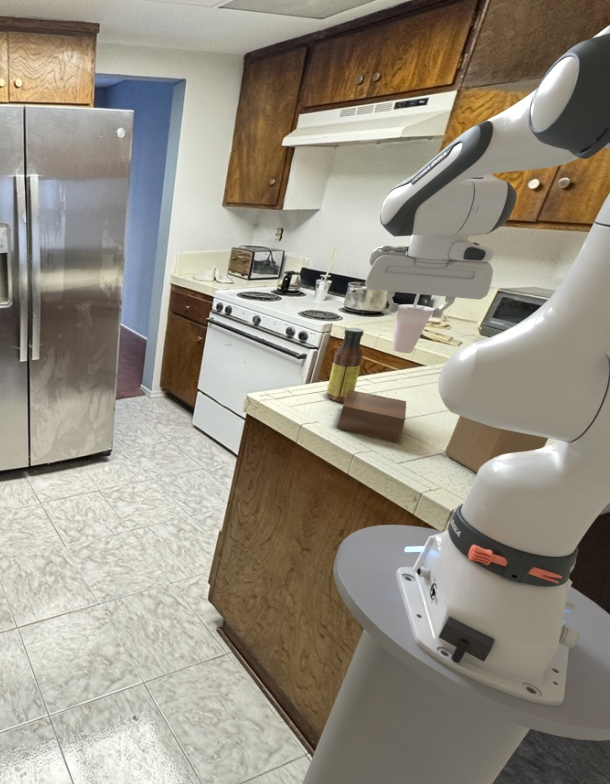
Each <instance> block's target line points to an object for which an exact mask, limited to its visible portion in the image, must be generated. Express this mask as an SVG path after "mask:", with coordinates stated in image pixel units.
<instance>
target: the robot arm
mask: <svg viewBox="0 0 610 784" xmlns="http://www.w3.org/2000/svg"><path fill="white" fill-rule="evenodd" d="M604 148H605V149H608V150H610V24H609V25H607V26H606V27H605V28H603V29H602V30H601V31H599V32H598V33H597V34H596V35H594V36H593V37H591V38H589V39H586V40H583V41H581V42H579V43H577V44H575V45H573V46H571V48H569V49H568V50H567V51H566V52H565V53H563V55H561V56H560V57H559V58H558V59H557V60H555V62H554V63H553V64H552V65H551V66H550V67H549V68H548V70H547V72H546V73H545V75H544V76H543V78H542V80H540V83H539V85H538V86H537V88H536V89H534V90H533V91H532V92H530V93H529V94H528V95H527V96H525V97H524V98H522V99H521V100H519V101H517V102H516V103H515V104H513V105H512V106H510V107H508V108H506V109H505V110H503V111H502V112H500V113H498V114H496V115H494V116H493V117H490V118H489V119H487V120H483V121H481V122H480V123H478V124H476V125H474V126H472V127H469V129H467V130H465V131H463V133H461V134H460V135H459V136H457V137H456V138H455V139H454V140H453V141H451V142H450V143H449V144H448V145H447V146H445V148H443V149H442V150H441V151H440V152H439V153H437V154H436V155H435V156H434V157H433V158H432V159H430V161H428V162H427V163H426V164H425V165H424V166H423V167H421V169H419V170H418V171H416V172H415V173H414V174H413V175H411V176H410V177H408V178H406V179H404V180H403V181H401V182H400V183H398V184H397V185H396V186H394V187H393V188H392V189H391V190H390V192H389V193H388V194H387V196H386V197H385V199H384V202H383V204H382V207H381V211H380V216H379V219H380V220H379V221H380V224H381V225H382V227H383V228H384V229H385V230H386V232H388V233H389V234H390V235H391V236H393V237H411V238H410V241H409V245H408V246H400V245H397V246H391V245H382V246H381V247H377V248H375V249H374V250H373V251H372V252H371V255H370V258H369V265H370V266H371V267H370V269H369V272H368V275H367V277H366V279H365V283H364V286H365V288H366V289H367V290H371V291H372V290H373V291H384V292H386V295H385V297H386V300H387V302H388V304H389V305H388V309H387V313H395V314H397V311H396V310H397V307H398V305H399V303H396V302H394V300H393V299H394V297H395V294H396V293H404V294H415V295H417V294H420V295H425V296H437V297H444V302H445V303H443V304H442V305H440V307H434V308H433V309H434V312H433V315H431V318H438V319H441V318H442V316H443V314H444V311H446V310H447V309H448V308H449V307H450V306H452V305H453V304H454V303H455V300H456V298H457V299H467V300H479V301H480V300H482V299H484V298H486V297H487V296H488V294H489V291H490V288H491V284H492V281H493V276H494V275H493V273H494V269H493V266H492V264H491V263H490V261H491V260H492V259H493V258H494V255H495V252H494V249H492V248H491V247H489V246H486V245H483V244H480V243H478V242H476V241H474V242H472V241H469V238H470V237H471V236H472V237H473V236H475V237H476V236H482V235H488V234H490V233H492V232H494V231H495V230H498V229H499V228H500V227H502V225H505V223H507V222H508V221H509V219H510V217H511V215H512V213H513V210H514V208H515V205H516V202H517V198H518V193H517V192H516V189H515V187H514V186H513V185H512V184H511V183H510V182H509V181H507V180H505V179H504V180H503V179H500V178H498V177H496V176H495V174H502V173H511V172H512V173H513V172H521V171H522V172H523V171H532V170H542V169H550V168H554V167H559V166H563V165H566V164H568V163H571V162H574V161H576V160H578V159H582V160H587V159H590V158H591V157H593V156H594V155H596V154H598V153H599V152H601V150H603V149H604ZM437 387H438V392H439V397H440V399H441V401H442V403H443V404H444V406H445V408H446V409H447V410H448V411H449V412H450V413H452V414H455V415H457V416H459V417H460V416H463V417H465V418H468V419H471V420H473V421H476V422H479V423H482V424H485V425H488V426H491V427H494V428H499V429H504V430H509V431H515V432H520V433H525V434H530V435H535V436H540V437H545V438H548V439H551V440H556V441H554V442H553V443H550V444H548V445H545V446H544V447H543V448H540V449H536V450H531V451H524V452H514V453H507V454H503V455H500V456H497V457H495V458H493V459H491V460H489V461H487V462H486V463H485V464H483V465H482V466H481V467H480V468H479V470H478V472H477V473H476V475H475V477H474V479H473V482H472V483H471V485H470V488H469V490H468V493H467V495H466V497H465V499H464V502H463V503H460V504H459V505H458V506H457V508H456V509H455V511H454V512H453V513H452V515H451V517H450V520H449V523H448V526H447V530H445V531H443V532H442V533H440V534H436V535H433V536H430V537H429V538H428V540H427V542H426V543H425V545H424V547H406V548H405V550H404V551H405V552H421V553H420V555H419V557H418V559H417V561H416V563H415V565H414V567H401V568H399V569H398V570H397V572H396V578H397V582H398V585H399V589H400V592H401V596H402V599H403V602H404V606H405V609H406V613H407V616H408V620H409V623H410V627H411V630H412V634H413V637H414V640H415V642H416V644H417V645H418V646H419V647H420V648H421V649H423V650H424V651H425V652H426V653H428V654H429V655H431V656H432V657H433V658H435V659H436V660H438V661H440V662H441V663H443V664H444V665H446V666H448V667H450V668H452V669H453V670H455V671H457V672H459V673H461V674H463V675H465V676H467V677H469V678H471V679H473V680H475V681H478V682H480V683H482V684H484V685H486V686H489V687H491V688H494V689H496V690H498V691H501V692H503V693H506V694H509V695H511V696H514V697H517V698H520V699H523V700H526V701H529V702H533V703H537V704H542V705H548V706H561V705H562V702H563V700H564V695H565V685H566V674H567V663H568V653H569V648H574V647H575V646H576V644H577V643H578V640H579V637H580V633H579V632H578V631H577V630H574V629H572V628H570V627H567V626H565V621H563V618H564V612H567V613H570V614H573V613H574V611H575V609H576V605H575V604H573V603H571V602H569V601H566V600H567V594H568V589H569V587H570V586H571V587H572V584H573V581H572V580H571V579H570V576H571V573H572V572H573V570H574V568H575V565H576V563H577V556H578V555H579V548H578V545H579V543H580V542H581V540H582V539H583V537H584V536H585V534H586V533H587V532H588V530H589V529H590V527H591V526H592V525H593V523H594V522H595V520H596V519H597V518H598V517H599V515H600V514H601V513H602V512H603V510H604V509H605V508H606V507H607V506H608V505H609V504H610V192H609V193H608V194H607V196H606V198H605V199H604V202H603V204H602V205H601V208H600V210H599V211H598V213H597V215H596V218H595V220H594V222H593V224H592V226H591V228H590V230H589V232H588V234H587V236H586V237H585V240H584V242H583V244H582V246H581V248H580V250H579V252H578V254H577V255H576V257H575V259H574V261H573V262H572V264H571V267H570V268H569V270H568V271H567V273H566V275H565V276H564V278H563V279H562V281H561V282H560V284H559V285H558V287H557V289H556V290H555V291H554V292H553V294H552V295H551V296H550V297H549V299H547V300H546V301H545V302H544V303H543V304H542V305H540V307H539V308H538V309H537V310H535V311H534V312H533V313H531V314H529V316H528V317H526V318H525V319H523V320H522V321H520V322H519V323H517V324H515V325H513V326H512V327H509V328H508V329H506V330H504V331H502V332H500V333H497V334H495V335H492V336H490V337H488V338H484V339H480V340H479V341H474V342H472V343H469V344H467V345H465V346H463V347H462V348H461V349H459V350H458V351H456V352H455V353H454V354H452V356H451V357H450V358H449V359H447V361H446V362H445V364H444V365H443V367H442V369H441V370H440V372H439V376H438V385H437Z"/></svg>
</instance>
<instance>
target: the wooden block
mask: <svg viewBox="0 0 610 784" xmlns="http://www.w3.org/2000/svg"><path fill="white" fill-rule="evenodd" d="M548 440H549V438H545V437H540V436H535V435H530V434H525V433H520V432H515V431H509V430H504V429H499V428H494V427H491V426H488V425H485V424H482V423H479V422H476V421H473V420H471V419H468V418H465V417H463V416H460V415H459V417H458V419H457V422H456V424H455V426H454V429H453V432H452V433H451V437H450V438H449V441H448V443H447V446H446V448H445V455H446V456H448V457H449V458H451V459H453V460H454V461H456V462H458V463H459V464H461V465H463V466H465V467H466V468H468V469H469V470H471V471H473V472H474V473H476V474H477V472H478V470H479V468H480V467H481V466H482V465H483V464H485V463H486V462H487V461H489V460H491V459H493V458H495V457H497V456H500V455H503V454H507V453H514V452H524V451H531V450H536V449H540V448H543V447H546V444H547V442H548Z"/></svg>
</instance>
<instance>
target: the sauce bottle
mask: <svg viewBox="0 0 610 784" xmlns="http://www.w3.org/2000/svg"><path fill="white" fill-rule="evenodd" d="M364 331H365V330H364V329H362V328H358V327H346V328H345V330H344V337H343V342H342V345H341V346H339V347H338V348H337V350H335V352H334V357H333V358H334V359H333V362H332V365H331V370H330V374H329V379H328V384H327V387H326V397H327V398H328V399H329V400H331V401H335V402H340V403H344V402H345V399H346V396H347V393H348V390H352V391H356V386H357V383H358V382H357V381H358V377H359V373H360V369H361V365H362V358H363V353H362V351H361V350H362V349H361V347H360V346H361V340H362V337H363V336H364Z"/></svg>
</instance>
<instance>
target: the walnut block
mask: <svg viewBox="0 0 610 784" xmlns="http://www.w3.org/2000/svg"><path fill="white" fill-rule="evenodd" d="M406 414H407V401H406V400H402V399H397V398H392V397H387V396H382V395H378V394H377V395H376V394H372V393H367V392H362V391H357V390H354V391H352V390H348V393H347V396H346V399H345V402H343V405H342V408H341V411H340V415H339V419H338V422H337V424H336V428H337V429H341V430H345V431H348V432H353V433H357V434H360V435H365V436H369V437H373V438H378V439H382V440H386V441H389V442H395V443H398V440H399V438H400V435H401V433H402V430H403V427H404V424H405V421H406Z"/></svg>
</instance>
